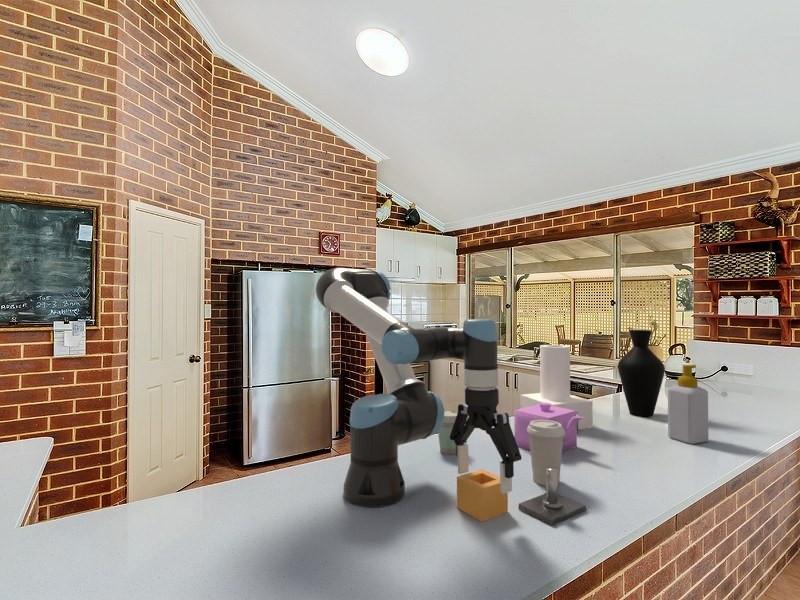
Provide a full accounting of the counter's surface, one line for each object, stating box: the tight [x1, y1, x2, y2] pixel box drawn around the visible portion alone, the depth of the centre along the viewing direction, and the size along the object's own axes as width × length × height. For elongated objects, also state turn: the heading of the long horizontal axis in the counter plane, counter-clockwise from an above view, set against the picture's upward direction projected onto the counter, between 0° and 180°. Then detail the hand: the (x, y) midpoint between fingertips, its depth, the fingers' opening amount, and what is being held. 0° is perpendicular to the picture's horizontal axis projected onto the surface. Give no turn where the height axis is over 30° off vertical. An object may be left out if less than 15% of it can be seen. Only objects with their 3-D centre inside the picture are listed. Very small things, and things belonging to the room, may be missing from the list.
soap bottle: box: [667, 364, 709, 445], centre depth 147 cm, size 9×9×25 cm
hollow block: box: [456, 468, 509, 522], centre depth 98 cm, size 8×8×7 cm
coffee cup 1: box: [437, 409, 458, 455], centre depth 137 cm, size 9×8×12 cm
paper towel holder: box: [519, 344, 594, 430], centre depth 168 cm, size 19×19×30 cm
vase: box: [617, 329, 666, 418], centre depth 180 cm, size 17×17×35 cm
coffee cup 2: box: [527, 420, 565, 487], centre depth 114 cm, size 10×10×15 cm
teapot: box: [513, 403, 584, 452], centre depth 141 cm, size 15×25×14 cm, turn 36°
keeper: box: [518, 467, 587, 527], centre depth 98 cm, size 12×9×9 cm
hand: (483, 481), depth 98 cm, fingers open, 13 cm apart
